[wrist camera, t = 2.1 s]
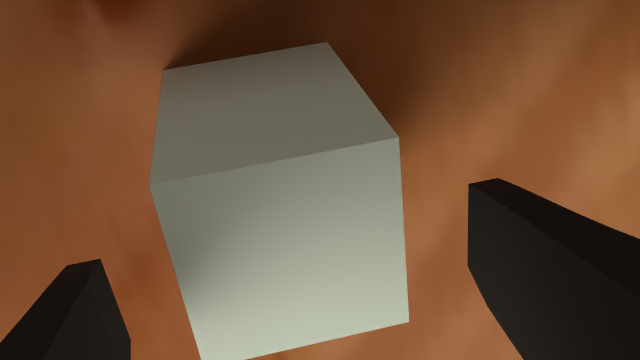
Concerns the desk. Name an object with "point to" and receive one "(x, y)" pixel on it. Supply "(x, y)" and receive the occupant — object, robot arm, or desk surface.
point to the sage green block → (279, 202)
